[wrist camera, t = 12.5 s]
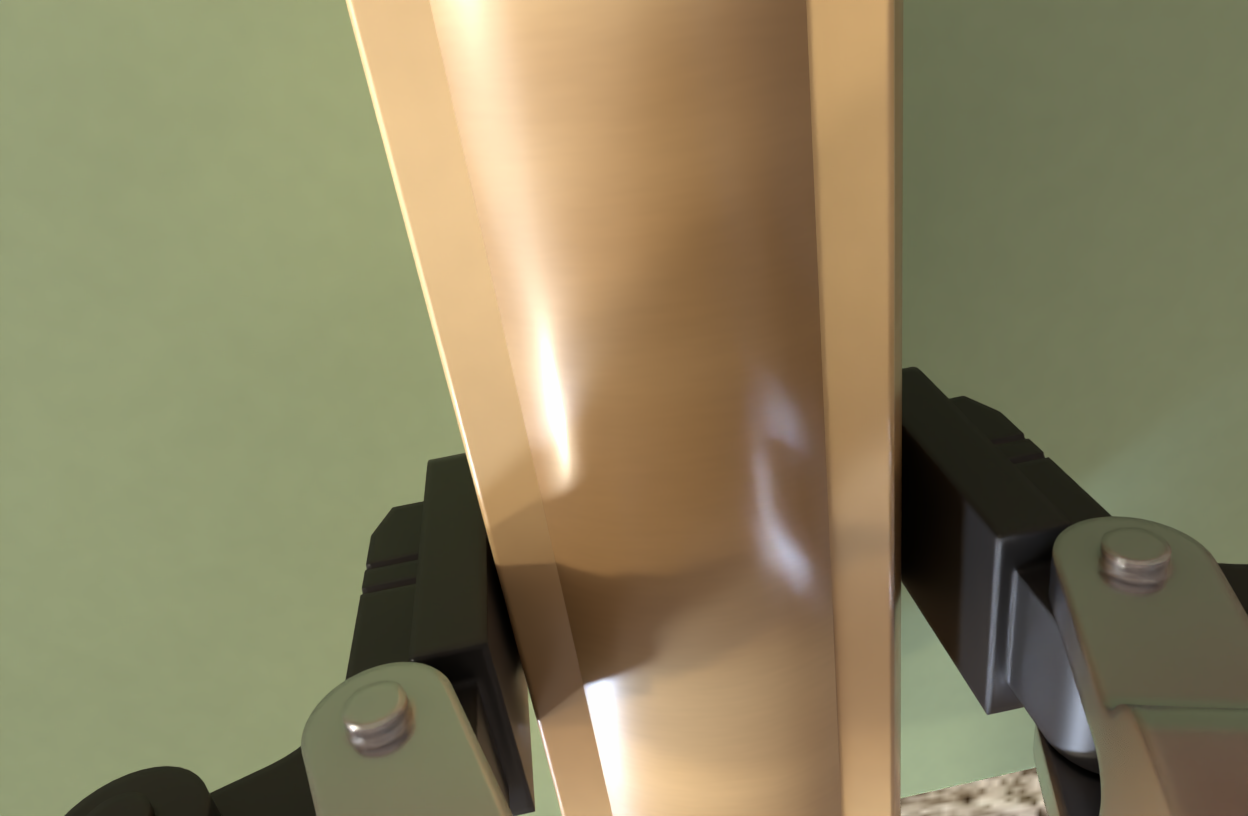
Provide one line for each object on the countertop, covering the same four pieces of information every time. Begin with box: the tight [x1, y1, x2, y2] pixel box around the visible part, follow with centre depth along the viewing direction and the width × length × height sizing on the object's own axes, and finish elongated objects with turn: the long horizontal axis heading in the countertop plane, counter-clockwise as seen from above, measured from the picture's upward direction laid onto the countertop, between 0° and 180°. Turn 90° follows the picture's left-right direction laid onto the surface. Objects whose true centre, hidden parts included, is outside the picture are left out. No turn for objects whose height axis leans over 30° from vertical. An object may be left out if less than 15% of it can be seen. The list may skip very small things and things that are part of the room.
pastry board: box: [0, 0, 1248, 816], centre depth 14 cm, size 30×20×1 cm, turn 99°
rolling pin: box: [345, 0, 903, 816], centre depth 11 cm, size 28×5×5 cm, turn 8°
